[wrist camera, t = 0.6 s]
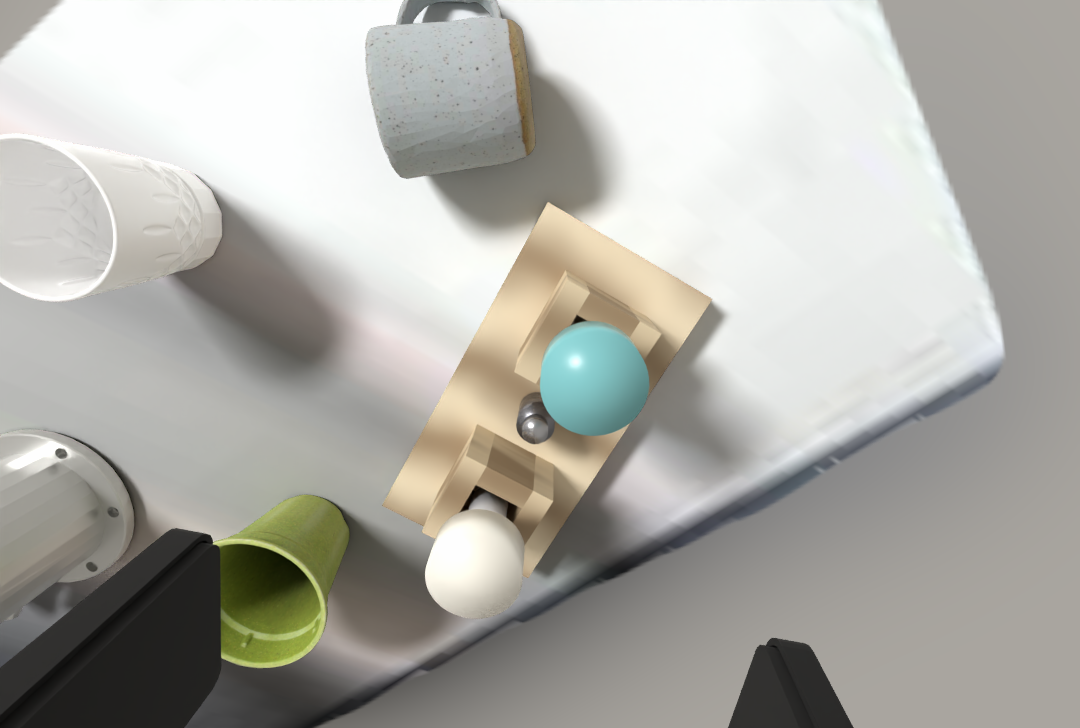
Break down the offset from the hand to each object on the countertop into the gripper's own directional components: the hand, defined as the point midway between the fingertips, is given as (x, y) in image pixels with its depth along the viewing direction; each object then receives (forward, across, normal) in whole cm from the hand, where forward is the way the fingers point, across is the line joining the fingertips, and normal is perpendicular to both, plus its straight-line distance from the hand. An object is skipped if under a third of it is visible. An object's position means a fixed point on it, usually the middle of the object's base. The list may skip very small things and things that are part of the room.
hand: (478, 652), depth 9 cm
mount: (+29, 0, +6) cm, 30 cm away
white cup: (+28, +26, -2) cm, 38 cm away
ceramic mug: (+29, +8, -13) cm, 33 cm away
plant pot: (+28, +15, +20) cm, 38 cm away
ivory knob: (+24, +2, +12) cm, 26 cm away
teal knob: (+24, -2, 0) cm, 24 cm away
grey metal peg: (+27, 0, +6) cm, 28 cm away
